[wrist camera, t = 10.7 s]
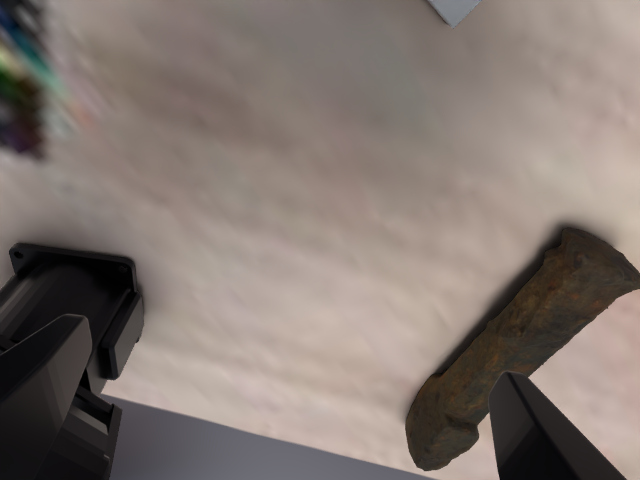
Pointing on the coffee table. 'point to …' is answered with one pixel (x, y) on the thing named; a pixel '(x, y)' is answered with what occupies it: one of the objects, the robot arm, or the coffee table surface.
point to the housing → (454, 9)
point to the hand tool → (517, 343)
